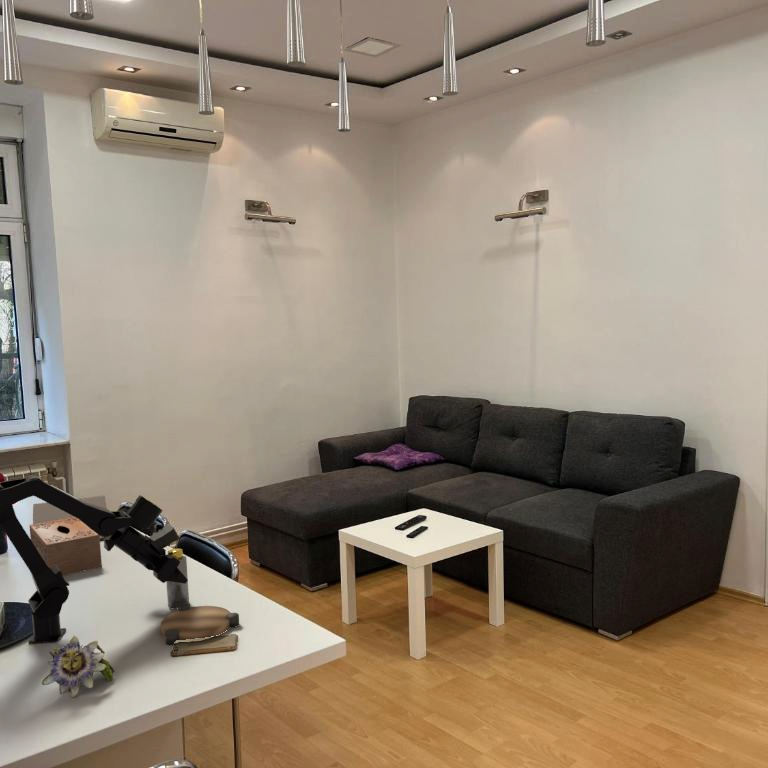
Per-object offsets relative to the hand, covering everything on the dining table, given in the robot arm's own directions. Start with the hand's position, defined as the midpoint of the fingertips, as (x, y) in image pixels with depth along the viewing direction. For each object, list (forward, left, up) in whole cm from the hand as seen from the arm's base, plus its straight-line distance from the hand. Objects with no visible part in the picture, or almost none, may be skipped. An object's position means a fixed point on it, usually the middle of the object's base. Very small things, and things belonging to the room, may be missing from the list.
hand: (182, 578), depth 196 cm
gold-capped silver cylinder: (-1, +1, -7) cm, 7 cm away
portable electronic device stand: (+65, +48, -7) cm, 81 cm away
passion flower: (-41, +13, -7) cm, 43 cm away
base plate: (-16, -6, -7) cm, 18 cm away
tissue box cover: (+40, +42, -7) cm, 59 cm away
